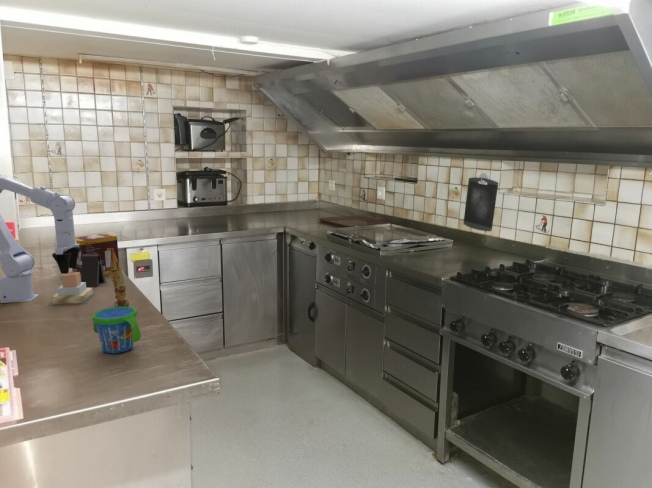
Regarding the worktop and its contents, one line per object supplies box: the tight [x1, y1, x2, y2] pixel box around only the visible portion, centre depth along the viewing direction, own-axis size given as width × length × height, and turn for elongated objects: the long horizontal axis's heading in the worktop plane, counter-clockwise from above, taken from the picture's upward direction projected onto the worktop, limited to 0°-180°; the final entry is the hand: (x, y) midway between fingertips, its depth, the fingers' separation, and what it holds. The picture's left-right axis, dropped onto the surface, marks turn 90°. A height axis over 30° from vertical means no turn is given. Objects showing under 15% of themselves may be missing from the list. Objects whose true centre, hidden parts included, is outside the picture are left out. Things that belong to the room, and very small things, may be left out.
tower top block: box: [57, 282, 87, 296], centre depth 179 cm, size 7×7×2 cm
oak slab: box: [51, 287, 94, 305], centre depth 180 cm, size 10×10×2 cm
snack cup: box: [91, 306, 142, 355], centre depth 137 cm, size 16×10×10 cm
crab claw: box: [109, 248, 130, 307], centre depth 172 cm, size 7×5×20 cm
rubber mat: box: [48, 293, 97, 306], centre depth 180 cm, size 12×12×1 cm
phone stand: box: [81, 254, 107, 288], centre depth 198 cm, size 9×6×12 cm, turn 2°
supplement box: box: [71, 232, 120, 278], centre depth 216 cm, size 10×15×16 cm
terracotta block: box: [61, 271, 81, 287], centre depth 179 cm, size 4×4×4 cm
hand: (68, 270), depth 179 cm, fingers open, 7 cm apart
